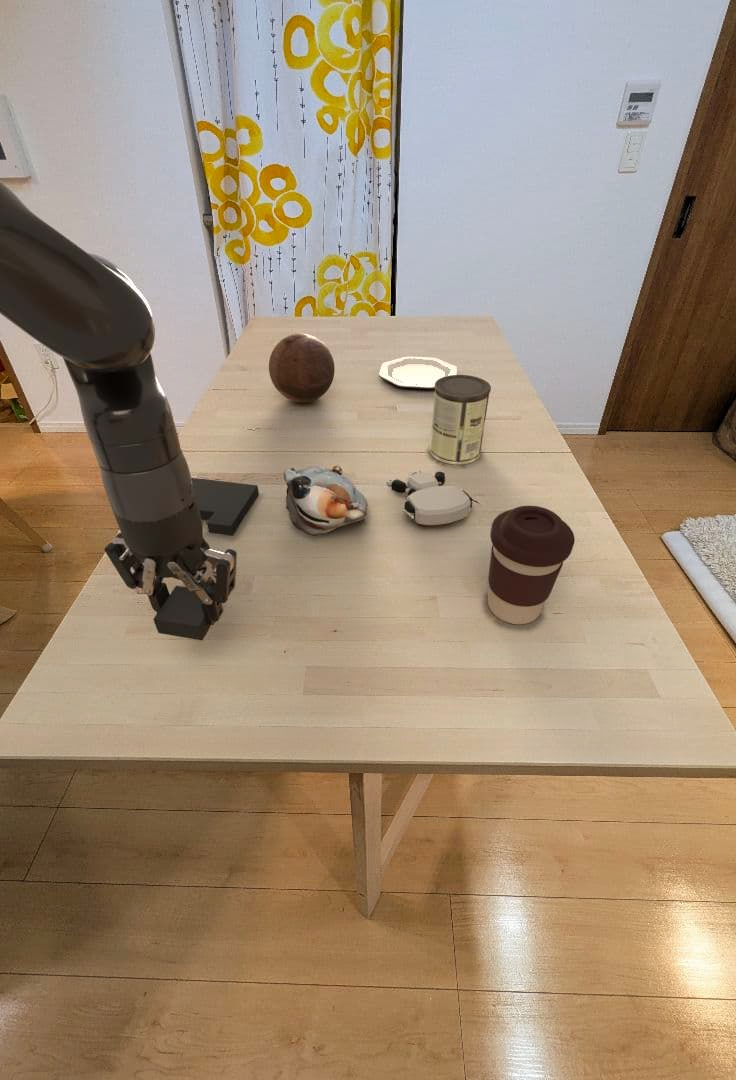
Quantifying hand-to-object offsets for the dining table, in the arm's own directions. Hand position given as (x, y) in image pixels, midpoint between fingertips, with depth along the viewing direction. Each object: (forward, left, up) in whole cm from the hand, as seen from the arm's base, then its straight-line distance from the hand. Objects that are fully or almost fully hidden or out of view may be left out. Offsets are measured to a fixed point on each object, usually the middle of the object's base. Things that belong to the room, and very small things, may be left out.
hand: (190, 615), depth 60 cm
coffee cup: (+38, +17, -9) cm, 43 cm away
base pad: (-13, +30, -8) cm, 34 cm away
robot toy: (+24, +38, -9) cm, 46 cm away
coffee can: (+27, +58, -9) cm, 65 cm away
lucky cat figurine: (+8, +31, -9) cm, 33 cm away
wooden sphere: (-10, +76, -9) cm, 77 cm away
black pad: (0, +2, -1) cm, 2 cm away
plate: (+15, +95, -9) cm, 97 cm away
